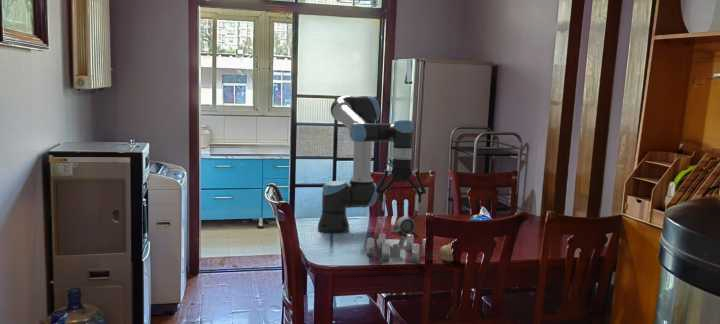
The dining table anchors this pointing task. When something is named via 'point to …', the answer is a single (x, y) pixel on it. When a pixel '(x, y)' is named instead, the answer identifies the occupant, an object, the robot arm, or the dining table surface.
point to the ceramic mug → (404, 225)
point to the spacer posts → (386, 246)
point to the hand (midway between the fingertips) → (399, 210)
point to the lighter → (397, 248)
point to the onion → (446, 253)
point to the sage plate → (393, 242)
